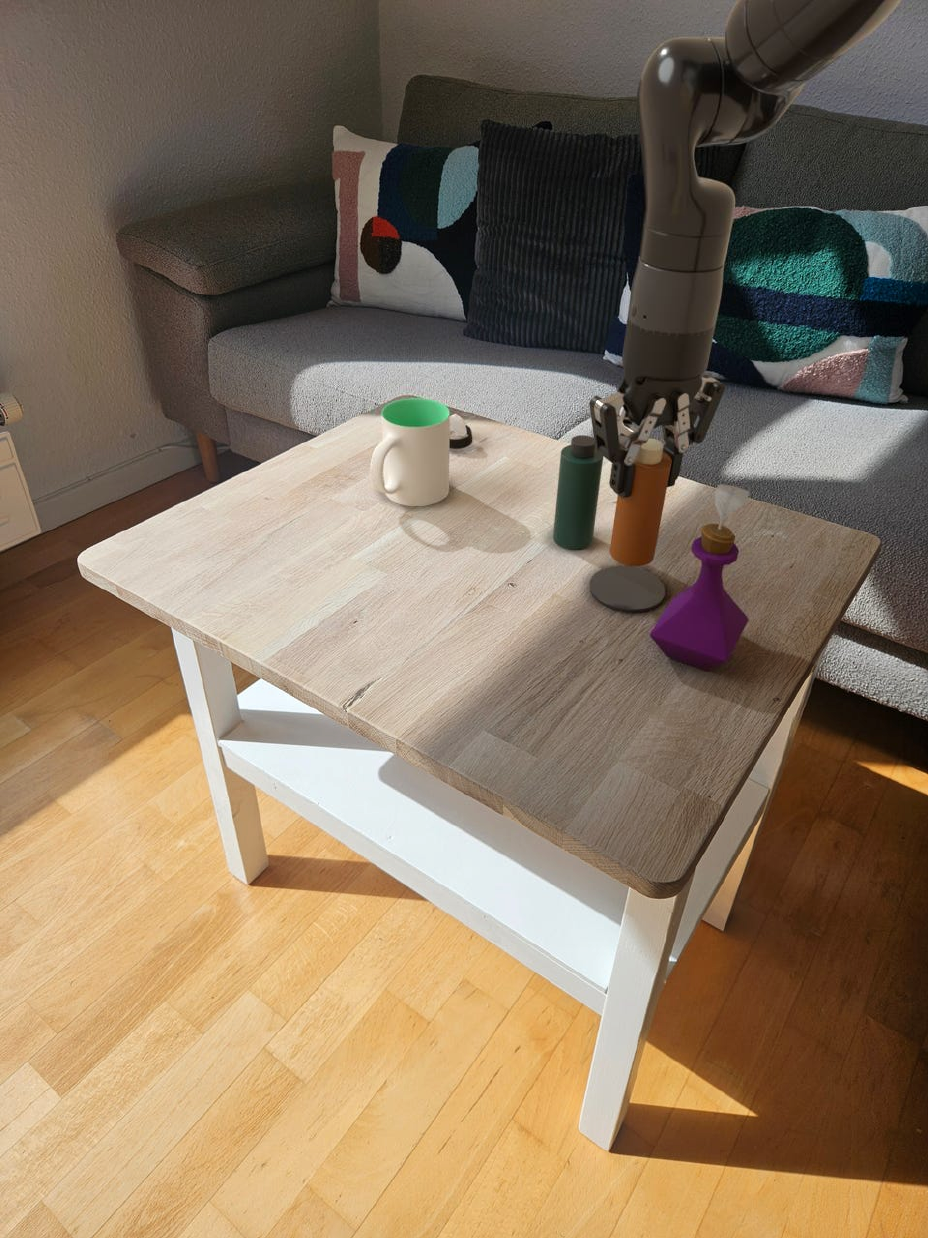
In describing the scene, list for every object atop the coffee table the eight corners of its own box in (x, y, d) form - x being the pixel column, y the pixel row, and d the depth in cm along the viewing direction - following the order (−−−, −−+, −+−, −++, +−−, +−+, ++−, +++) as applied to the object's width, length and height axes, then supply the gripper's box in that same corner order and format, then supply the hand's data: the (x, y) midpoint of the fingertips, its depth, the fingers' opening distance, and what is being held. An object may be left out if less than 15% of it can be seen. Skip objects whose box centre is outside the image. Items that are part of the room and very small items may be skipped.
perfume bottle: (719, 688, 81) (764, 522, 70) (643, 661, 84) (675, 498, 73) (742, 644, 86) (787, 483, 75) (670, 620, 89) (703, 462, 78)
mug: (408, 527, 102) (405, 446, 96) (352, 508, 105) (347, 429, 99) (461, 484, 110) (462, 408, 104) (408, 468, 113) (406, 392, 107)
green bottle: (588, 528, 103) (600, 430, 95) (596, 549, 99) (609, 450, 91) (549, 528, 102) (559, 431, 95) (556, 550, 99) (565, 450, 91)
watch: (480, 445, 119) (481, 420, 117) (455, 455, 116) (456, 430, 114) (443, 426, 123) (443, 402, 121) (418, 436, 121) (417, 412, 119)
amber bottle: (648, 541, 92) (667, 432, 84) (658, 565, 89) (680, 455, 81) (605, 542, 92) (620, 433, 84) (614, 567, 88) (631, 456, 80)
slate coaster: (654, 567, 96) (654, 564, 96) (673, 611, 90) (673, 608, 90) (583, 569, 96) (583, 566, 96) (597, 613, 90) (597, 610, 89)
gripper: (628, 341, 70) (603, 523, 80) (766, 317, 75) (725, 491, 85) (578, 311, 75) (560, 486, 85) (710, 291, 80) (678, 458, 91)
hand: (643, 487), depth 85 cm, fingers closed on amber bottle, 4 cm apart
